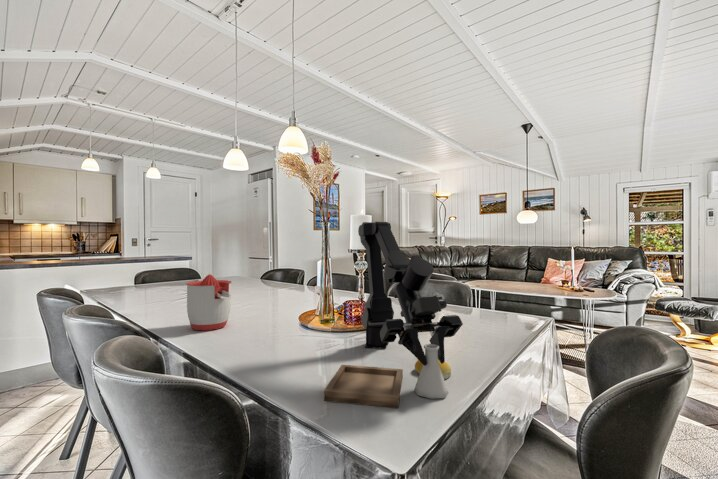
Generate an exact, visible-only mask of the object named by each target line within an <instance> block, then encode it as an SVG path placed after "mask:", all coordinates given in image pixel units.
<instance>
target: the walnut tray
mask: <svg viewBox="0 0 718 479" xmlns="http://www.w3.org/2000/svg"><path fill="white" fill-rule="evenodd" d="M403 371H404V369H402V368H392V367H391V368H389V367H377V366H363V365H354V364H353V365H351V364H341V365H340V366H339V368H338V369H337V371H336V372H335V374H334V376H332V378H331V380H330V381H329V383H328V384H327V386H326V387H325V389H324V391H323V401H324V402H331V403H332V402H333V403H343V404H353V405H363V406H371V407H373V406H374V407H383V408H384V407H385V408H395V409H399V404H400V400H401V399H400V398H401V393H402V392H401V391H402V383H403V376H404V374H403V373H404V372H403Z"/></svg>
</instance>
